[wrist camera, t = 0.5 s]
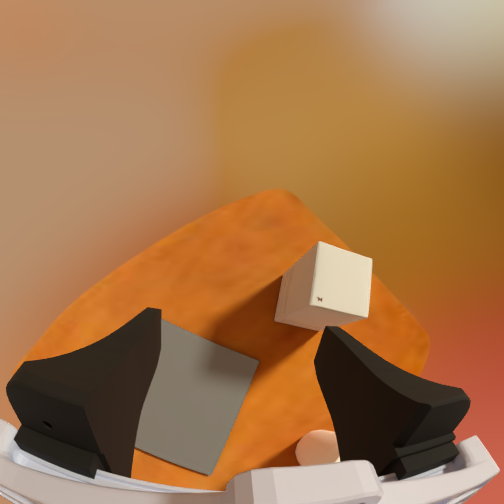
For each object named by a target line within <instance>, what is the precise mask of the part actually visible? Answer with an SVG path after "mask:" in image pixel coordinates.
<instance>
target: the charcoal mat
mask: <svg viewBox="0 0 504 504" xmlns="http://www.w3.org/2000/svg"><path fill="white" fill-rule="evenodd" d="M258 363H259V360H256V359H254V358H251V357H248V356H246V355H243V354H241V353H238V352H236V351H233V350H231V349H228V348H226V347H223V346H221V345H219V344H216V343H214V342H212V341H209V340H207V339H205V338H202V337H200V336H198V335H195V334H193V333H191V332H189V331H187V330H184V329H182V328H180V327H178V326H176V325H174V324H171V323H169V322H167V321H165V320H163V319H161V352H160V356H159V361H158V365H157V368H156V371H155V374H154V377H153V379H152V382H151V385H150V388H149V390H148V393H147V396H146V399H145V402H144V404H143V408H142V411H141V416H140V420H139V425H138V430H137V436H136V442H135V447H136V448H139V449H141V450H143V451H145V452H148V453H150V454H152V455H155V456H157V457H159V458H162V459H164V460H167V461H169V462H172V463H175V464H177V465H180V466H183V467H186V468H189V469H191V470H194V471H197V472H200V473H204V474H207V475H210V476H211V475H212V473H213V471H214V468H215V466H216V464H217V462H218V459H219V457H220V455H221V453H222V450H223V448H224V446H225V444H226V441H227V439H228V437H229V434H230V432H231V430H232V427H233V425H234V423H235V420H236V418H237V415H238V413H239V411H240V408H241V406H242V403H243V401H244V399H245V396H246V394H247V391H248V389H249V386H250V384H251V381H252V379H253V376H254V374H255V371H256V369H257V366H258Z"/></svg>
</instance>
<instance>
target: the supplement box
mask: <svg viewBox="0 0 504 504" xmlns="http://www.w3.org/2000/svg"><path fill="white" fill-rule="evenodd" d="M371 274H372V259H371V258H368V257H365V256H362V255H359V254H356V253H353V252H349V251H346V250H344V249H341V248H338V247H335V246H332V245H329V244H326V243H323V242H321V241H319V242H318V243H317V244H316V245H314V246H313V247H312V248H311V249H310V250H309V251H308V252H307V253H306V254H305V255H304V256H303V257H302V258H301V259H299V260H298V261H297V262H296V263H295V264H294V265H293V266H292V267H291V268H290V269H288V270H287V271H286V272H285V273H284V274H283V277H282V282H281V287H280V292H279V297H278V303H277V308H276V313H275V318H274V321H276V322H280V323H285V324H289V325H293V326H298V327H302V328H306V329H311V330H316V331H323V330H324V329H325V326H341V325H345V324H348V323H352V322H355V321H359V320H362V319H365V318H368V312H369V300H370V288H371Z"/></svg>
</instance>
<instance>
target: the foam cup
mask: <svg viewBox="0 0 504 504" xmlns="http://www.w3.org/2000/svg"><path fill="white" fill-rule="evenodd" d="M295 453H296V458H297V460H298V462H299V464H300V465H301V466H306V465H318V464H327V463H335V462H340V456H339V450H338V444H337V439H336V434H335V432H332V431H326V430H315V431H311V432H309V433H308V434H306V435H304V436H303V437H302V438H301V440H300V441H299V442H298V443H297V447H296V451H295Z"/></svg>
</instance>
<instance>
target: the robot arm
mask: <svg viewBox="0 0 504 504" xmlns="http://www.w3.org/2000/svg"><path fill="white" fill-rule="evenodd" d="M160 352H161V309H155V308H149V307H148V308H146V309H145V310H143V311H142V312H141V313H139V314H138V315H137V316H136V317H134V318H133V319H132V320H130V321H129V322H128V323H126V324H125V325H123V326H122V327H121V328H119V329H118V330H116V331H114V332H113V333H111V334H110V335H108V336H107V337H105V338H103V339H101V340H99V341H97V342H95V343H93V344H91V345H89V346H87V347H84V348H81V349H79V350H76V351H73V352H71V353H68V354H64V355H61V356H56V357H52V358H47V359H41V360H34V361H25V362H24V363H23V364H22V365H21V366H20V368H19V369H18V370H17V372H16V373H15V374H14V375H13V377H12V378H11V380H10V381H9V382H8V384H7V386H6V392H7V396H8V399H9V401H10V403H11V405H12V407H13V409H14V411H15V413H16V415H17V417H18V418H19V420H20V422H21V424H22V425H21V427H20V428H19V430H17V429H16V428H15V427H14V426H13V425H11V424H10V423H8V422H6V421H4V420H2V419H0V495H1V496H2V497H4V498H5V499H7V500H9V501H10V502H12V503H14V504H462V503H464V502H465V501H467V500H468V499H469V498H470V497H472V496H473V495H474V494H475V493H476V492H478V491H479V490H480V489H481V488H482V487H484V486H485V485H486V484H487V483H488V482H489V481H490V480H491V479H492V478H493V477H494V476H496V475H497V474H498V473H499V471H500V469H499V468H498V466H497V465H496V463H495V462H494V460H493V459H492V457H491V456H490V454H489V453H488V451H487V450H486V448H485V447H484V445H483V444H482V443H481V441H480V440H479V438H478V437H477V436H473V437H470V438H468V439H466V440H464V441H461V442H460V443H458V444H457V445H456V446H455V444H454V443H453V440H454V439H455V437H456V436H455V435H454V433H453V431H454V429H455V428H456V427H457V426H458V424H459V423H460V422H461V420H462V419H463V418H464V416H465V415H466V413H467V411H468V409H469V407H470V399H469V397H468V396H467V395H466V393H465V392H464V391H463V390H462V389H461V388H456V387H451V386H446V385H441V384H438V383H435V382H431V381H428V380H426V379H422V378H420V377H418V376H415V375H413V374H410V373H408V372H406V371H404V370H402V369H400V368H398V367H396V366H395V365H393V364H391V363H389V362H388V361H386V360H384V359H383V358H381V357H380V356H378V355H377V354H375V353H374V352H372V351H371V350H370V349H368V348H367V347H365V346H364V345H363V344H361V343H360V342H359V341H357V340H356V339H355V338H354V337H352V336H351V335H350V334H348V333H347V332H345V331H344V330H343V329H341V328H339V327H338V326H325V329H324V332H323V335H322V338H321V341H320V344H319V347H318V350H317V353H316V356H315V359H314V365H315V370H316V375H317V379H318V382H319V385H320V388H321V391H322V393H323V396H324V399H325V401H326V404H327V407H328V410H329V412H330V415H331V418H332V421H333V425H334V430H335V434H336V439H337V444H338V450H339V456H340V462H335V463H327V464H318V465H306V466H291V467H269V468H261V469H252V470H249V471H246V472H243V473H240V474H237V475H236V476H234V477H233V478H232V479H231V480H230V481H229V482H228V483H227V486H226V490H225V491H212V490H200V489H191V488H182V487H175V486H168V485H162V484H157V483H151V482H146V481H141V480H137V479H132V478H131V470H132V462H133V455H134V448H135V442H136V436H137V430H138V425H139V420H140V416H141V411H142V408H143V404H144V402H145V399H146V396H147V393H148V390H149V388H150V385H151V382H152V379H153V377H154V374H155V371H156V368H157V365H158V361H159V356H160Z"/></svg>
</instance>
